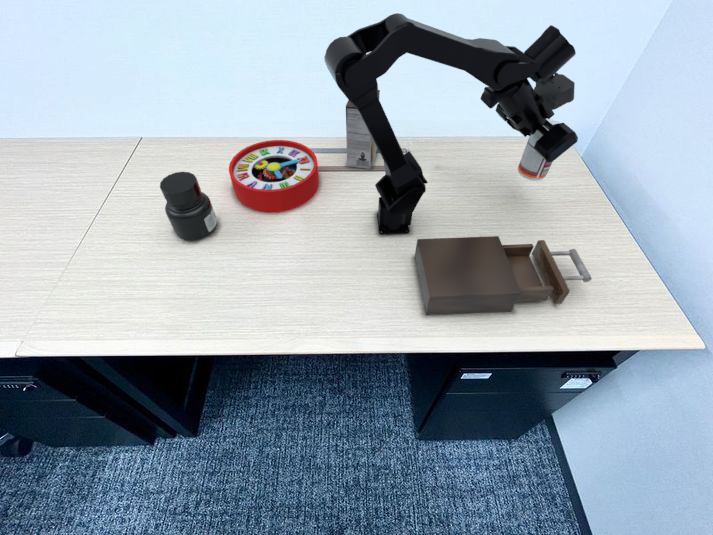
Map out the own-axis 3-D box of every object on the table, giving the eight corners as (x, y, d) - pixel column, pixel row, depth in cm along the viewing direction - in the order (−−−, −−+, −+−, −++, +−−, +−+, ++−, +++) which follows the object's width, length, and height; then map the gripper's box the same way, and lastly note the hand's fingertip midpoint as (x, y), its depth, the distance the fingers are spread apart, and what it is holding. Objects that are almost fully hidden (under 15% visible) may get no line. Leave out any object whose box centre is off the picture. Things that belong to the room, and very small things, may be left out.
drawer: (562, 252, 80) (571, 238, 77) (589, 302, 72) (600, 289, 68) (465, 255, 79) (470, 241, 76) (481, 307, 71) (487, 293, 68)
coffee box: (353, 146, 105) (353, 86, 93) (377, 149, 105) (380, 89, 92) (346, 166, 100) (345, 105, 87) (371, 170, 99) (373, 108, 87)
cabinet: (490, 255, 80) (498, 236, 76) (511, 311, 71) (521, 292, 67) (414, 258, 80) (417, 238, 75) (425, 315, 71) (429, 296, 66)
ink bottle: (224, 234, 84) (208, 188, 75) (182, 249, 81) (160, 204, 72) (210, 207, 89) (193, 162, 80) (170, 221, 86) (148, 176, 77)
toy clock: (219, 152, 93) (299, 132, 99) (225, 173, 98) (301, 152, 104) (242, 202, 82) (331, 176, 88) (248, 223, 86) (332, 197, 92)
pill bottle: (541, 165, 89) (562, 117, 80) (549, 182, 85) (571, 134, 76) (514, 164, 89) (531, 116, 80) (520, 181, 85) (539, 132, 76)
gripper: (593, 88, 63) (616, 140, 73) (528, 43, 74) (555, 94, 85) (532, 140, 67) (562, 182, 78) (480, 90, 79) (511, 133, 89)
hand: (548, 145), depth 82 cm, fingers closed on pill bottle, 6 cm apart
